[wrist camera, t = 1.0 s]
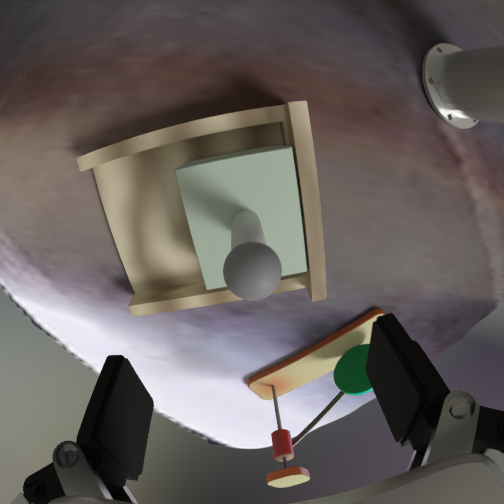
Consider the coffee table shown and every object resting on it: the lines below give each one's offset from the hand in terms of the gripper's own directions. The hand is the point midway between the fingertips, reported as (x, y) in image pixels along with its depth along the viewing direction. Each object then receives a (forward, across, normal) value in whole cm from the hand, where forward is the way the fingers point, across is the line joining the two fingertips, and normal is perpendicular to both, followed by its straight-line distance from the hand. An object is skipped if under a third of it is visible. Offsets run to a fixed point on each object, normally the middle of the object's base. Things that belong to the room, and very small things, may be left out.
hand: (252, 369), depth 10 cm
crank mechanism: (+25, -8, +27) cm, 38 cm away
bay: (+24, +4, +1) cm, 25 cm away
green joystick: (+23, 0, +1) cm, 23 cm away
